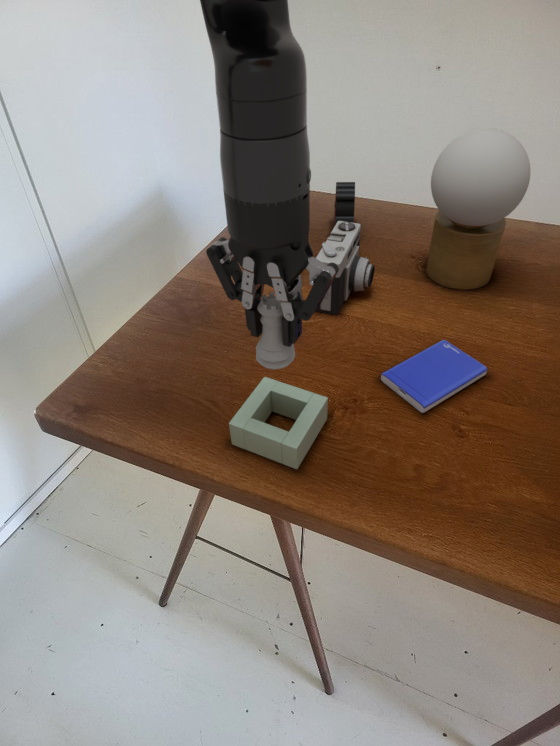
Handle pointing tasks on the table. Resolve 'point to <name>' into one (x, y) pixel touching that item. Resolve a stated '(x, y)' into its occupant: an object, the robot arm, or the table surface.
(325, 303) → the camera
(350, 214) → the extruded letter emblem
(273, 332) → the rook chess piece
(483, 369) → the hard drive
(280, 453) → the socket
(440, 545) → the table surface
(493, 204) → the lamp
